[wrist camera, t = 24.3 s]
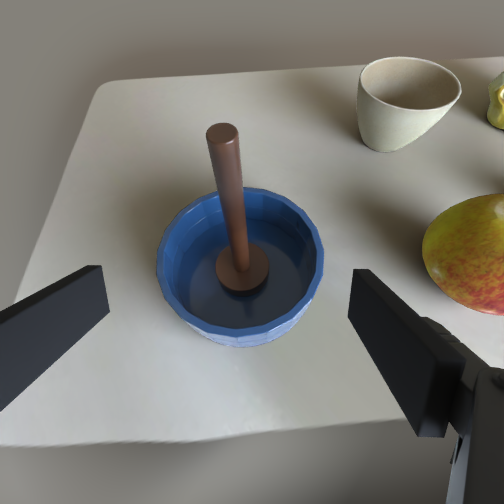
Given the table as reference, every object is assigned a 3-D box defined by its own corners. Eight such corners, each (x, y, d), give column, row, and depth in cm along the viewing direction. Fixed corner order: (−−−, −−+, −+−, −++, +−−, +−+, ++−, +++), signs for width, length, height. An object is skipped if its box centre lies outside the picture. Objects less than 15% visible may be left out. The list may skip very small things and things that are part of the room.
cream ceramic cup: (421, 120, 35) (457, 60, 28) (423, 173, 30) (466, 117, 24) (346, 109, 36) (364, 50, 30) (337, 159, 32) (356, 102, 26)
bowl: (175, 358, 22) (153, 350, 17) (174, 228, 28) (158, 197, 23) (329, 334, 22) (346, 320, 18) (295, 211, 28) (301, 178, 24)
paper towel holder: (220, 300, 23) (164, 181, 10) (215, 253, 25) (166, 105, 12) (273, 292, 23) (288, 165, 10) (264, 246, 26) (267, 93, 12)
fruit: (538, 299, 23) (660, 260, 16) (457, 342, 22) (552, 319, 15) (457, 218, 27) (525, 159, 20) (385, 250, 26) (432, 197, 19)
